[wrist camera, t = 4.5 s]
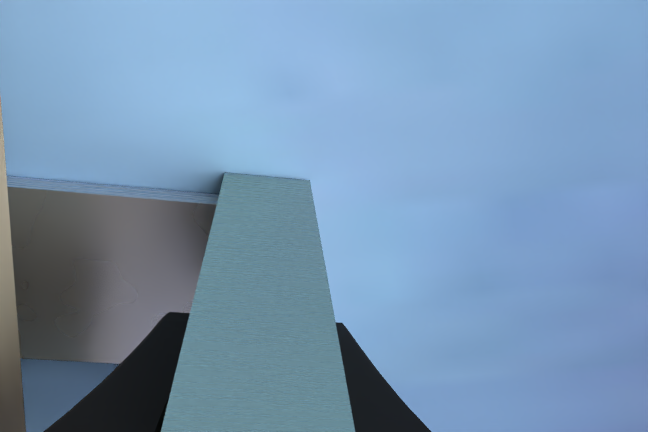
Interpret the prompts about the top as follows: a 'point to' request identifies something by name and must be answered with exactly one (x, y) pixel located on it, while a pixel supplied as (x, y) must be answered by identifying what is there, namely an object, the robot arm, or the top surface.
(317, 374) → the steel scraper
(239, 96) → the top surface
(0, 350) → the oak shelf
